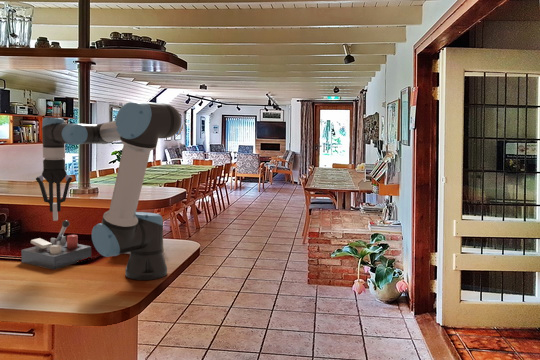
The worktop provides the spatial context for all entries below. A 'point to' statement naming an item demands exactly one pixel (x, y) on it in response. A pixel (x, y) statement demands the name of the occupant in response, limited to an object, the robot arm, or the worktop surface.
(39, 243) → the rocker
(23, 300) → the worktop surface
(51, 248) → the button ivory
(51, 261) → the console
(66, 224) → the lever
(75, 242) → the button red
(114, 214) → the robot arm
